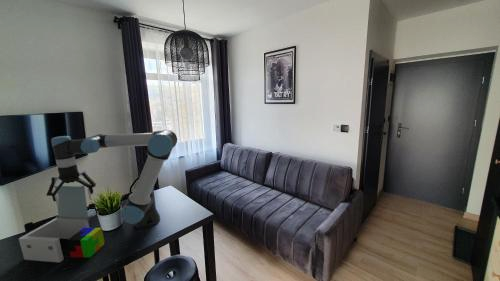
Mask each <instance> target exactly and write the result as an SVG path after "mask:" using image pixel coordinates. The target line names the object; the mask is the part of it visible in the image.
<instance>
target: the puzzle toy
mask: <svg viewBox="0 0 500 281" xmlns="http://www.w3.org/2000/svg"><path fill="white" fill-rule="evenodd" d="M66 241H67V244H68V249H69V253H70V258H91V257H92V256H93V255H95V254H96V253H97V252H98V251H99V250H100V249H101V248H102V247H103V246H104V245H105V238H104V233H103V227H89V228H83V229H82V230H80V231H79V232H77V233H76V234H75V235H73V236H72V237H71V238H69V239H66Z"/></svg>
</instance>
